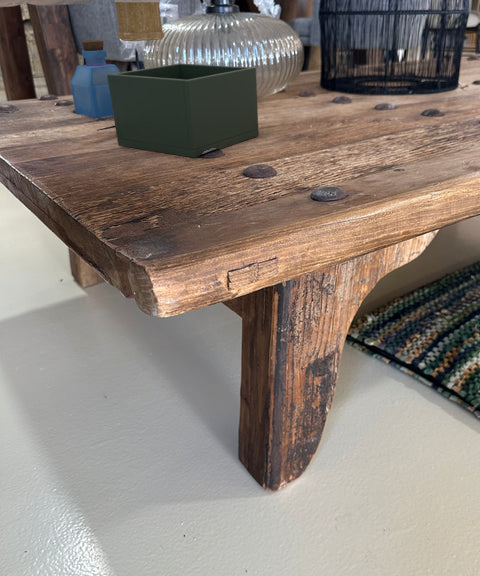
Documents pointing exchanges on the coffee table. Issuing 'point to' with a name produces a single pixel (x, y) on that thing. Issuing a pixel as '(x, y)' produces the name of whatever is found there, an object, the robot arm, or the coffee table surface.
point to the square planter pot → (184, 107)
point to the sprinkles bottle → (139, 20)
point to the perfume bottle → (93, 82)
